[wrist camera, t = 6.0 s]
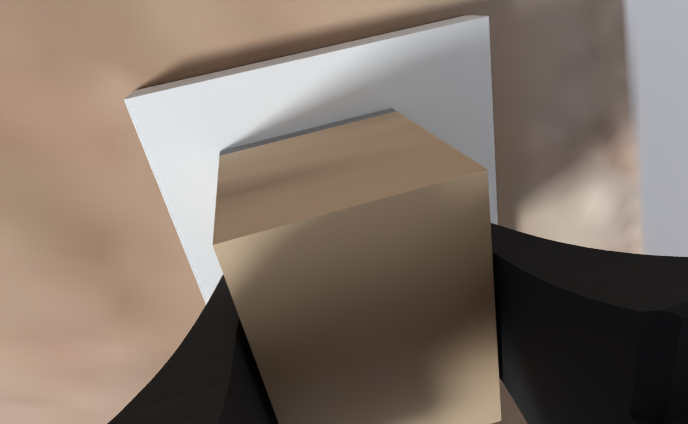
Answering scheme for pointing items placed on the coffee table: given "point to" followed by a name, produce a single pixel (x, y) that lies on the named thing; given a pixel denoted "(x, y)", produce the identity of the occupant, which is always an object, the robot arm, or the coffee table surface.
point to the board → (312, 112)
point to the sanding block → (363, 273)
